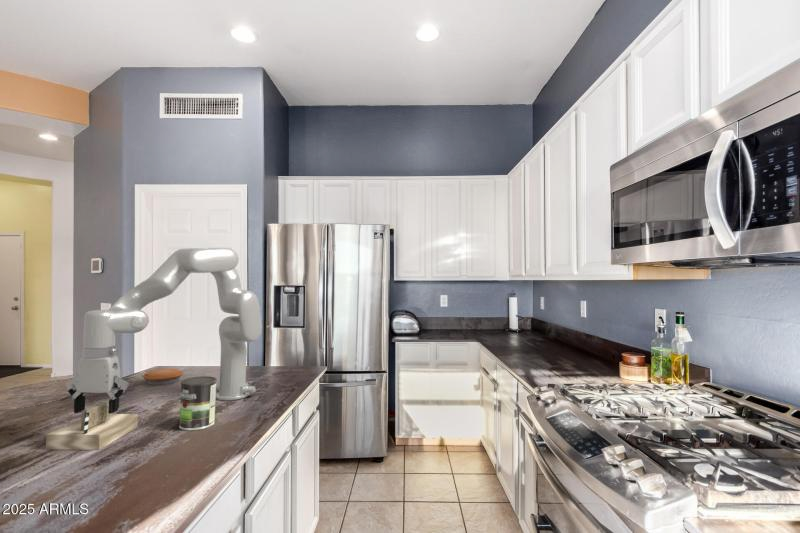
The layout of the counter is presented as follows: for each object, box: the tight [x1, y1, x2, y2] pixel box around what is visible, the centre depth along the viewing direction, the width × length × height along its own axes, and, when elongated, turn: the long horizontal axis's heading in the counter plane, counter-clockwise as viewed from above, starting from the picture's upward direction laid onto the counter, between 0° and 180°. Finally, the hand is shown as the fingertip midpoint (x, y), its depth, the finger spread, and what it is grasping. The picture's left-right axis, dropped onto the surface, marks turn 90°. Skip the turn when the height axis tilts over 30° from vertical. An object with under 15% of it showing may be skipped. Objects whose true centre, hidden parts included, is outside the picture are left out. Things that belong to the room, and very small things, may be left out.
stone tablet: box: [80, 399, 113, 434], centre depth 111 cm, size 6×4×12 cm
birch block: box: [45, 413, 139, 451], centre depth 113 cm, size 14×16×4 cm
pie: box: [142, 368, 184, 386], centre depth 172 cm, size 16×16×5 cm
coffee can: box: [178, 375, 218, 431], centre depth 124 cm, size 10×10×14 cm
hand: (96, 411), depth 113 cm, fingers open, 9 cm apart
